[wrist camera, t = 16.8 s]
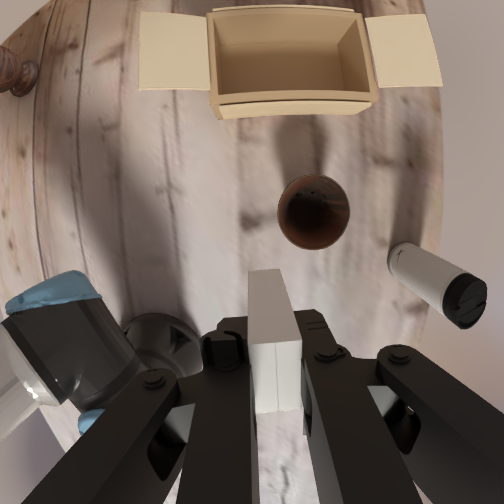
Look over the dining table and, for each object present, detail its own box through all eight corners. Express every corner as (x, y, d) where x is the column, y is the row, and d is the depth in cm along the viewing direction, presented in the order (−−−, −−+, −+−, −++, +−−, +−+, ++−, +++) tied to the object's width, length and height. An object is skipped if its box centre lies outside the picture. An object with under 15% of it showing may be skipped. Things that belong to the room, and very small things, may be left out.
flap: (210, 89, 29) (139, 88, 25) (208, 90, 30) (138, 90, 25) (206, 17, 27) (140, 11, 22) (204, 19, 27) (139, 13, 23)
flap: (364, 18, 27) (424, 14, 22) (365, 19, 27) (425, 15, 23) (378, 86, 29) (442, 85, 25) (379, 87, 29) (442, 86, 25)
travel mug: (382, 247, 45) (454, 292, 26) (415, 237, 45) (494, 274, 26) (387, 282, 47) (452, 340, 28) (419, 271, 47) (491, 320, 27)
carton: (218, 124, 41) (210, 109, 31) (212, 39, 37) (204, 9, 27) (352, 119, 40) (379, 106, 31) (340, 37, 37) (360, 9, 27)
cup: (274, 248, 45) (283, 256, 35) (265, 187, 44) (272, 178, 34) (331, 239, 45) (355, 245, 35) (324, 180, 44) (345, 170, 34)
